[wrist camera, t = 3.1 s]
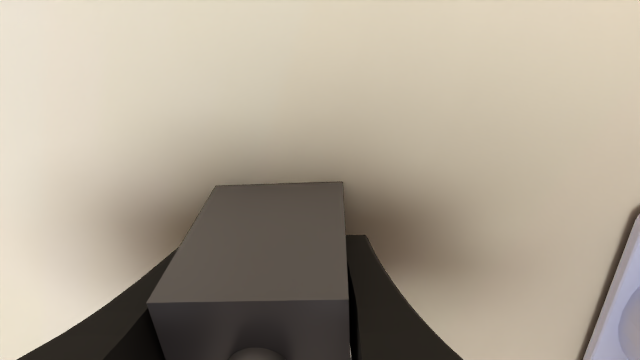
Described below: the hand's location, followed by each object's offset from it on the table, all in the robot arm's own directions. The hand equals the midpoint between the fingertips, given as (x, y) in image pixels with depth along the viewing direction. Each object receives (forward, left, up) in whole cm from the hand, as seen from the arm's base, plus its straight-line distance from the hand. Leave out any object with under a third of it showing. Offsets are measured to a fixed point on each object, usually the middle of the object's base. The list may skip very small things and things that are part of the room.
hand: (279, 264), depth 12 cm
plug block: (0, 0, -1) cm, 1 cm away
